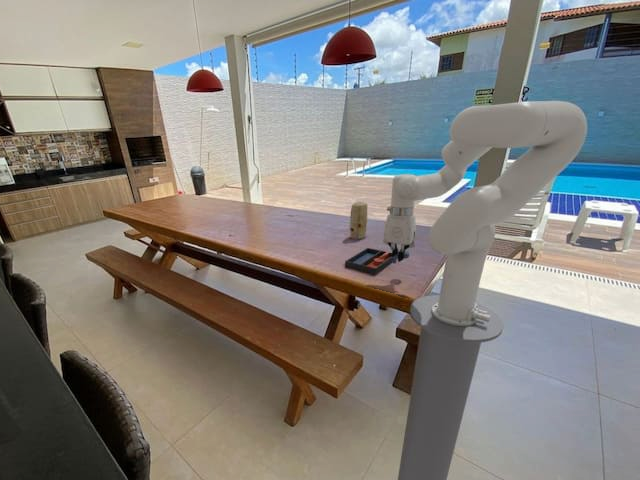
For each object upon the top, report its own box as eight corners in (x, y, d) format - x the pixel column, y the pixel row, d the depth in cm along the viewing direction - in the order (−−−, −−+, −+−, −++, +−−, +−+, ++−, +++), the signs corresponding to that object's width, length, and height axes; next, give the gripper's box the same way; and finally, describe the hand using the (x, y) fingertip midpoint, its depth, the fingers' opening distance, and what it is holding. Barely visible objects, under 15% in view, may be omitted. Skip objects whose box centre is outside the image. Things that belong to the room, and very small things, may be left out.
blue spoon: (410, 256, 118) (411, 249, 117) (398, 265, 110) (399, 258, 109) (400, 254, 120) (400, 247, 119) (387, 263, 113) (388, 256, 112)
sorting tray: (396, 259, 137) (396, 253, 135) (375, 275, 123) (375, 268, 122) (367, 253, 145) (367, 247, 144) (345, 267, 132) (345, 261, 131)
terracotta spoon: (371, 264, 132) (372, 258, 131) (383, 256, 139) (383, 250, 138) (380, 266, 129) (381, 260, 128) (392, 258, 137) (392, 252, 136)
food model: (361, 235, 169) (363, 199, 161) (369, 239, 164) (372, 202, 155) (346, 239, 166) (348, 202, 157) (353, 242, 160) (355, 205, 152)
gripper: (376, 211, 110) (373, 259, 117) (420, 215, 100) (415, 267, 107) (385, 207, 115) (382, 253, 122) (428, 211, 105) (423, 261, 112)
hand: (397, 259), depth 114 cm, fingers closed on blue spoon, 1 cm apart
